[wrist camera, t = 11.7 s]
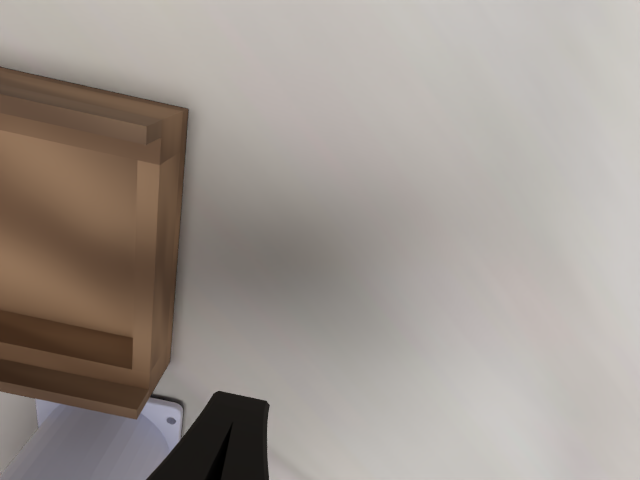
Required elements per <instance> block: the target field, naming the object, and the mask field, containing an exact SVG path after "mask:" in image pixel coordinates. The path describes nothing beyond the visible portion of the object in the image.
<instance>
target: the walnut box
mask: <svg viewBox="0 0 640 480" xmlns="http://www.w3.org/2000/svg"><path fill="white" fill-rule="evenodd" d="M187 121H188V109H186V108H182V107H177V106H173V105H168V104H164V103H159V102H155V101H150V100H146V99H141V98H137V97H132V96H128V95H123V94H119V93H114V92H110V91H105V90H101V89H96V88H92V87H87V86H83V85H78V84H74V83H69V82H65V81H60V80H56V79H51V78H47V77H42V76H38V75H33V74H29V73H24V72H20V71H15V70H11V69H6V68H2V67H0V391H1V392H6V393H11V394H16V395H21V396H25V397H30V398H35V399H40V400H45V401H49V402H54V403H59V404H64V405H69V406H73V407H78V408H83V409H88V410H93V411H97V412H102V413H107V414H112V415H117V416H121V417H126V418H131V419H136V420H137V418H138V417H139V415H140V413H141V412H142V410H143V408H144V406H145V405H146V403H147V401H148V399H149V398H150V396H151V394H152V392H153V391H154V389H155V387H156V385H157V384H158V382H159V380H160V378H161V377H162V375H163V373H164V371H165V370H166V368H167V366H168V364H169V363H170V354H171V341H172V327H173V313H174V299H175V286H176V272H177V258H178V245H179V231H180V217H181V204H182V190H183V176H184V162H185V149H186V135H187Z"/></svg>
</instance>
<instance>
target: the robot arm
mask: <svg viewBox="0 0 640 480" xmlns="http://www.w3.org/2000/svg"><path fill="white" fill-rule="evenodd" d="M35 401H36V411H37V421H38V429H37V431H36V432H35V433H34V434H33V435H32V437H31V438H30V439H29V440H28V442H27V443H26V444H25V445H24V447H23V448H22V449H21V450H20V451H19V453H18V454H17V455H16V456H15V458H14V459H13V460H12V461H11V462H10V464H9V465H8V466H7V467H6V469H5V470H4V471H3V472H2V474H1V475H0V480H269V473H268V461H267V420H268V412H269V406H270V405H269V404H268V402H267V401H264V400H260V399H255V398H250V397H245V396H241V395H236V394H231V393H226V392H222V391H218V392H216V393H214V394H213V396H212V397H211V399H210V401H209V402H208V404H207V405H206V407H205V408H204V410H203V411H202V412H201V414H200V415H199V417H198V418H197V419H196V421H195V422H194V423H193V425H192V426H191V427H190V429H189V430H188V431H187V432H186V434H185V435H184V436H183V437H182V439H181V429H182V418H183V408H182V407H181V405H179V404H178V403H175V402H170V401H165V400H160V399H155V398H151V397H150V398H149V399H148V401H147V403H146V405H145V406H144V408H143V410H142V412H141V413H140V415H139V417H138V418H137V420H136V419H131V418H126V417H121V416H117V415H112V414H107V413H102V412H97V411H93V410H88V409H83V408H78V407H73V406H69V405H64V404H59V403H54V402H49V401H45V400H40V399H35ZM171 417H172V418H171ZM173 418H174V419H173ZM180 439H181V440H180Z"/></svg>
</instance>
